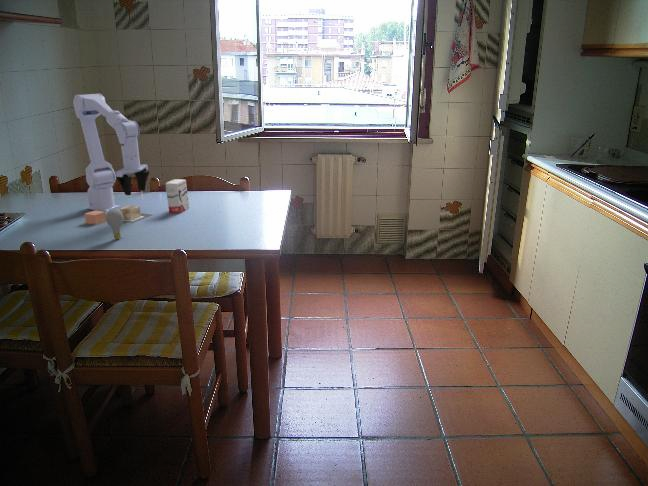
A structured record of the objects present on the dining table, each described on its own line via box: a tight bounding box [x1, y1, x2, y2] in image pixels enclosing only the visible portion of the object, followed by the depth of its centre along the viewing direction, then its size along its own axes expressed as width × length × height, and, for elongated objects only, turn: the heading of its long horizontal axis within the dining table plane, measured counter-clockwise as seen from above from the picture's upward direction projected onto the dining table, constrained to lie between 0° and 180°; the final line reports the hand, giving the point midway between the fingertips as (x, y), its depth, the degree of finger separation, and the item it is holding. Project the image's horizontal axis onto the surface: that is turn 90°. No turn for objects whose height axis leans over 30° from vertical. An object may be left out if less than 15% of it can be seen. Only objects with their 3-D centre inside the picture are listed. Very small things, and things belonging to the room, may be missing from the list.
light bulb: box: [106, 209, 124, 240], centre depth 177 cm, size 5×5×10 cm
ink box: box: [165, 178, 190, 214], centre depth 210 cm, size 9×5×12 cm, turn 168°
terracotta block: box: [84, 210, 107, 226], centre depth 196 cm, size 5×5×4 cm
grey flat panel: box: [123, 212, 153, 224], centre depth 203 cm, size 14×12×1 cm
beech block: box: [119, 205, 141, 220], centre depth 201 cm, size 5×5×4 cm
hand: (135, 192), depth 199 cm, fingers open, 7 cm apart
